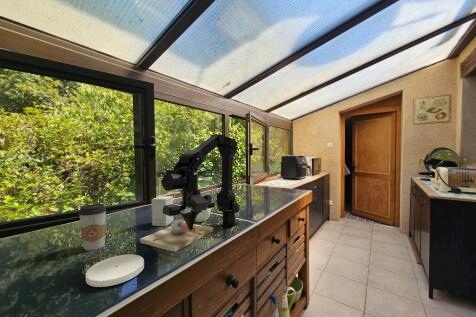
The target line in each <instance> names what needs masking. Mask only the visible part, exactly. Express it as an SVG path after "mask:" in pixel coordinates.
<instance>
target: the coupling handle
mask: <svg viewBox="0 0 476 317" xmlns="http://www.w3.org/2000/svg"><path fill="white" fill-rule="evenodd" d="M170 226H171V234H173V235H180V234H184V233H186V231H189V232H192V233H195V234H197V233H199V232H200V227H199V226H195V225H193V228H192V230H189V229H188V227H187V224H186V222H185V220H184V218H183V219H180V218H178V219H175V220H174V219H173V221H171V223H170Z"/></svg>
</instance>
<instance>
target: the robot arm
mask: <svg viewBox="0 0 476 317" xmlns="http://www.w3.org/2000/svg"><path fill="white" fill-rule="evenodd" d="M238 146H239V145H238V141H237V140H236V139H235V138H232V137H229V136H225V135H224V134H222V133H216V134H215V133H214V134H211V135H210V136H209V137H208V138H207V139H206V140H204V142H202V143H200V144H199V145H198V146H197V147H196V148H193V149H191V150H187V151H185V152H183V153H181V154H179V156H178V160H177V162H176V164H175V166H174V168H173V169H166V170H165V174H164V175H162V176H163V177H162V179H161V187H162V188H163V189H164V191H167V192H169V191H170V192H171V191H175V190H176V191H177V190H179V193H180V194H181V200H180V201H179V203H180V205H178V204H175V203H173V204H170V205H164V207H163V214H165V215H168V216H173V217H174V216H179V215H181V217H182V218H183V220H185V222H186V224H187V227H188V229H189V230H192V228H193V225H194V224H195V222H196V221H195V219H196V217H197V215H198V214H199V213H200V212H202V210H206V209H207V208H211V209H213V208H215V207H216V206H217V209H218V212H222V222H221V223H220V224H219V225H220V226H221V227H226V228H233V227H235V226H236V225H239V221H237V220H236V215H237V213H239V212H240V210H241V207H240V204H239V203H238V202H237V201H236V200H237V199H236V198H237V197H236V194H235V192H234V189H233V174H234V173H233V170H234V169H233V168H234V165H233V164H234V157H235V155H236V154H237V152H238ZM216 148H217V149H218V152H219V154H220V156H221V184H220V185H221V186H220V187H221V188H220V191H219V193H218V192H217V193H216V195H215V196H216V201H214V199H212V196H211V195H210V194H206V195H201V190H200V189H199V175H202V174H203V172H202V171H201V170H200V169H199V168H200V167H201V165H202V164H203V163H204V159H205V157H206V156H207V155H208V154H209V153H211V152H212V151H213V150H214V149H216ZM215 205H216V206H215Z"/></svg>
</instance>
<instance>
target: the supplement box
mask: <svg viewBox="0 0 476 317" xmlns="http://www.w3.org/2000/svg"><path fill="white" fill-rule="evenodd" d="M170 204H174V196H173V195H172V196H168V195H167V196H166V195H165V196H164V195H163V196H162V195H161V196H158V197H154V198H152V199H151V223H152V224H151V225H152V226H154V227H155V226H156V227H167V226H168V225H169V224H170V225H171V221H174V216H168V215H165V214H163V207H164V205H170Z"/></svg>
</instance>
